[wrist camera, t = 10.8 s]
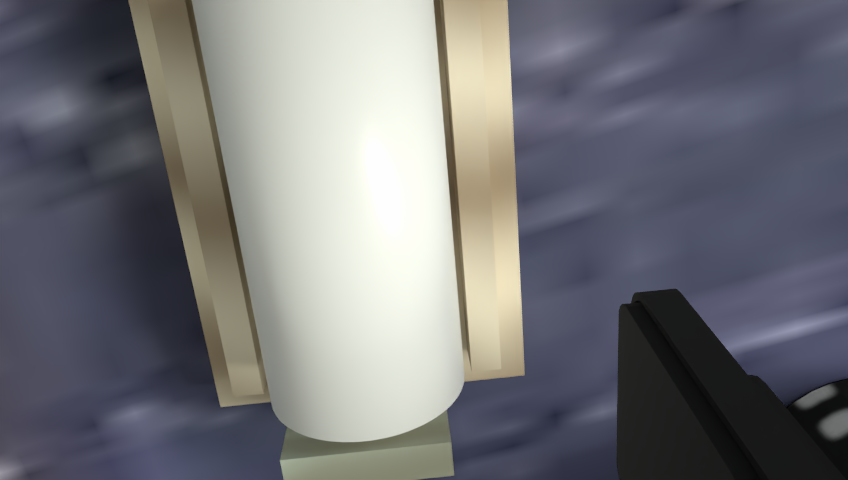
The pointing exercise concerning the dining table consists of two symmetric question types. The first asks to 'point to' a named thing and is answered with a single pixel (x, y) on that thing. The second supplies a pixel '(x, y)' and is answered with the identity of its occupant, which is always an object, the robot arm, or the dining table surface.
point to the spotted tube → (826, 421)
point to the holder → (470, 212)
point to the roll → (340, 206)
